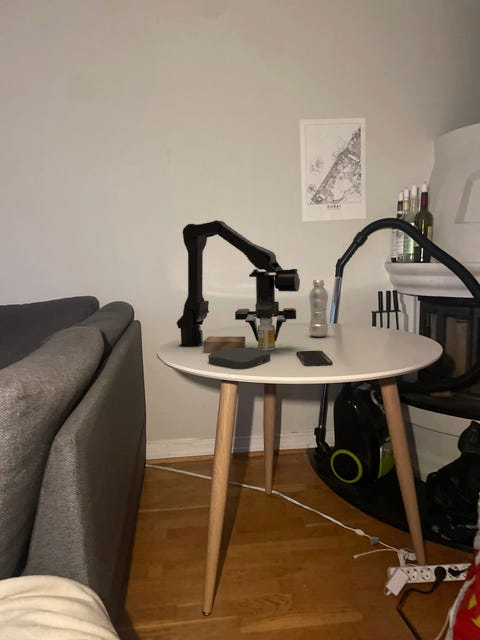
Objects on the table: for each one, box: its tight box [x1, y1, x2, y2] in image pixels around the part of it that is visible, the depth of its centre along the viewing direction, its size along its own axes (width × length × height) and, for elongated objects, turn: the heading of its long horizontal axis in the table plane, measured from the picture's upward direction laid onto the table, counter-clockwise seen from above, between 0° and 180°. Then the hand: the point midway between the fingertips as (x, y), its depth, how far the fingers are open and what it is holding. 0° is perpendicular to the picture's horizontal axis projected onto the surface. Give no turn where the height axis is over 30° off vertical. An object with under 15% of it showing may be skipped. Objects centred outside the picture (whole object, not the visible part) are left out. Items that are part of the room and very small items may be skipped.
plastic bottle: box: [308, 279, 329, 338], centre depth 151 cm, size 6×7×20 cm
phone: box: [295, 350, 333, 367], centre depth 120 cm, size 8×1×15 cm
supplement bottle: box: [257, 317, 276, 352], centre depth 134 cm, size 5×5×10 cm
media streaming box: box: [208, 347, 271, 370], centre depth 121 cm, size 15×15×3 cm
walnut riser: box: [202, 335, 247, 354], centre depth 135 cm, size 12×8×4 cm, turn 82°
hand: (266, 341), depth 135 cm, fingers closed on supplement bottle, 5 cm apart
